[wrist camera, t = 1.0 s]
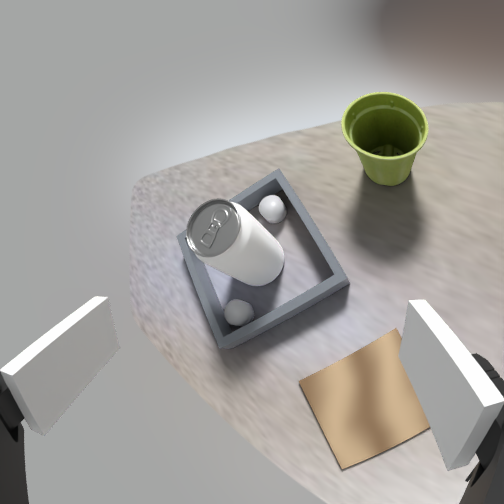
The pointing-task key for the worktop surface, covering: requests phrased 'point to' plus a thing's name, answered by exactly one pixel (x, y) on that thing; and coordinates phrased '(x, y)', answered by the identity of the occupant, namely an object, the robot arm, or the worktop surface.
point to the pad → (365, 401)
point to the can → (234, 242)
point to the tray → (241, 310)
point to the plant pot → (385, 134)
